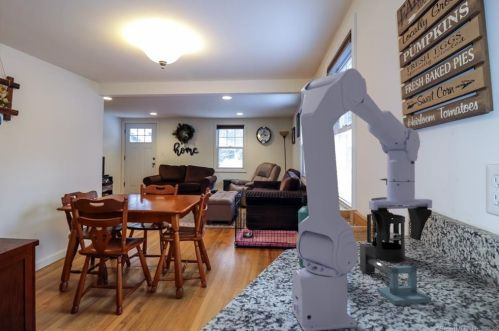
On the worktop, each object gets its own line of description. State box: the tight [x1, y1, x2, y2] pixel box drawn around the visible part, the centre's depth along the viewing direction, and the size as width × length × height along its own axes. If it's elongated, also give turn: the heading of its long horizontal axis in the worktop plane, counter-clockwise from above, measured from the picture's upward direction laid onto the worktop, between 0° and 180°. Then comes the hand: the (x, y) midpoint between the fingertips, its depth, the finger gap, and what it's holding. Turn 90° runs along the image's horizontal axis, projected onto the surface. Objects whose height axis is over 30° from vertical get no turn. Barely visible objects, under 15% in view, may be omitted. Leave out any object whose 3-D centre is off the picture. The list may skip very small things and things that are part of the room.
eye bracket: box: [376, 264, 432, 306], centre depth 62 cm, size 6×8×6 cm
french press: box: [366, 177, 407, 263], centre depth 88 cm, size 12×9×23 cm
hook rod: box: [359, 243, 400, 278], centre depth 71 cm, size 13×3×7 cm, turn 8°
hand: (400, 240), depth 69 cm, fingers open, 7 cm apart
